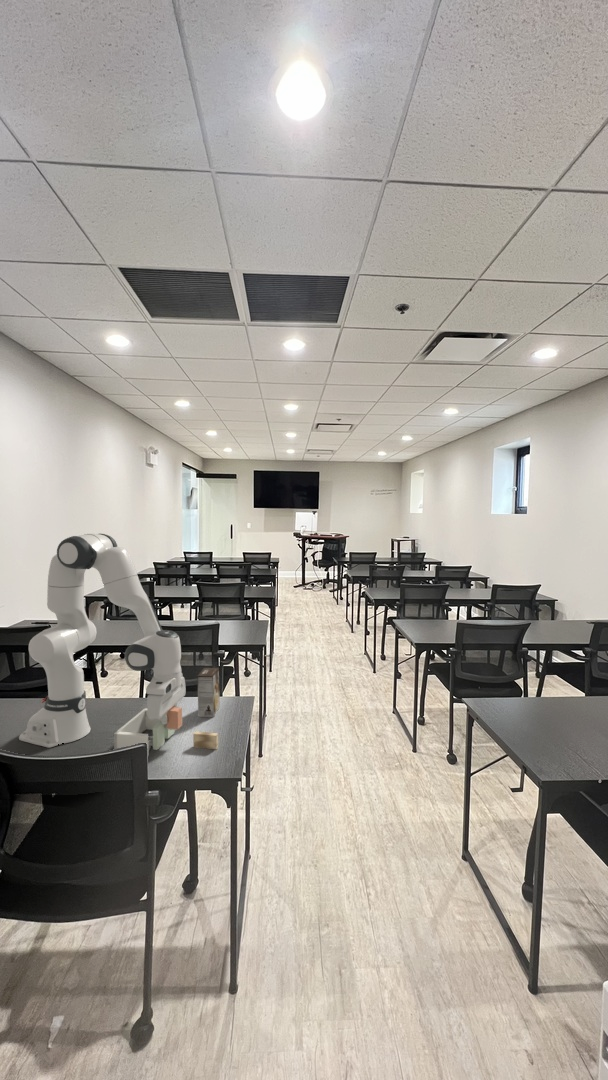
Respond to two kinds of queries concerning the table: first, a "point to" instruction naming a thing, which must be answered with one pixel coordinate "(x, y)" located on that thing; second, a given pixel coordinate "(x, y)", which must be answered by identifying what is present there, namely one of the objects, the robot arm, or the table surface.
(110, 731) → the table surface
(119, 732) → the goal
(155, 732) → the t-shaped crossbar
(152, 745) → the soldier figure
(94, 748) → the table surface
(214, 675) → the coffee box
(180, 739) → the table surface
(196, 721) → the table surface
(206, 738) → the tan wooden block
